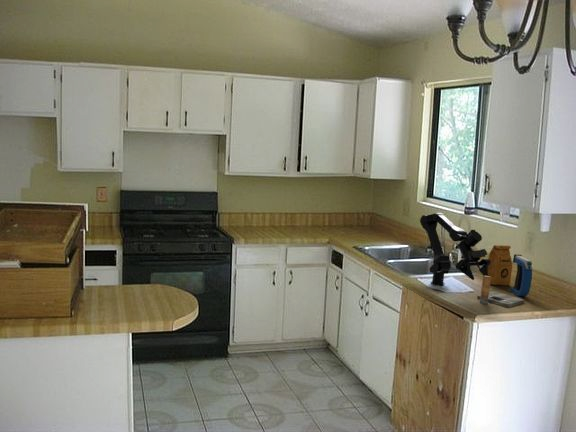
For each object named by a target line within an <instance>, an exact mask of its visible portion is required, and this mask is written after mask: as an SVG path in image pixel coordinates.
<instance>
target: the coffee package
mask: <svg viewBox="0 0 576 432" xmlns="http://www.w3.org/2000/svg"><path fill="white" fill-rule="evenodd" d="M510 249H511V245H508V244H507V245H499V244H495V245H493V246H492V248H491V250H490V251H489V253H488V257H487V259H490V261H491V264H490V265H489V266H488V276H490V277H491V283H490V285H493V286H510V284H511V282H512V281H511V279H512V278H511V277H512V273H513V272H512V270H513V259H512V256H511V252H510V251H511V250H510Z"/></svg>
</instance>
